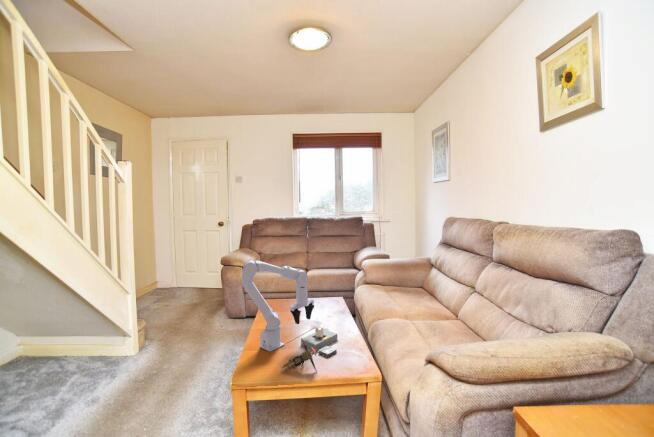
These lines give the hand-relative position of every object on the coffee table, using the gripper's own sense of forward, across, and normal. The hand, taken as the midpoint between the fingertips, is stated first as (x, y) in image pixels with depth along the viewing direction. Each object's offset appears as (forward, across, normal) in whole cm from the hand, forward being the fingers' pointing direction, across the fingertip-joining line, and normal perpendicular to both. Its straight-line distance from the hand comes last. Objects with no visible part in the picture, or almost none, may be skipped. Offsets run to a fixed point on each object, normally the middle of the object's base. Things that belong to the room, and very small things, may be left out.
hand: (302, 321), depth 151 cm
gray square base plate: (+11, -2, -17) cm, 20 cm away
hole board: (+10, +4, -7) cm, 13 cm away
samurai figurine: (+11, -20, -16) cm, 27 cm away
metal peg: (+11, +4, -7) cm, 13 cm away
